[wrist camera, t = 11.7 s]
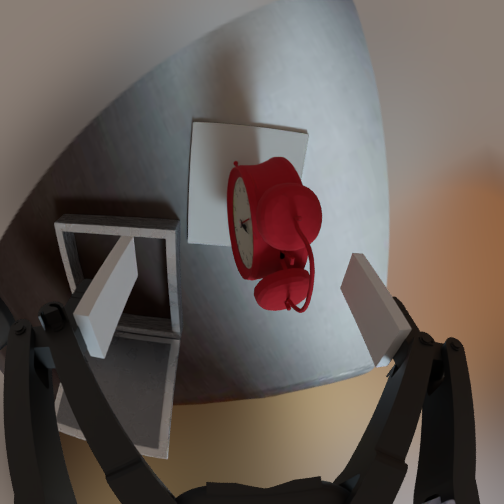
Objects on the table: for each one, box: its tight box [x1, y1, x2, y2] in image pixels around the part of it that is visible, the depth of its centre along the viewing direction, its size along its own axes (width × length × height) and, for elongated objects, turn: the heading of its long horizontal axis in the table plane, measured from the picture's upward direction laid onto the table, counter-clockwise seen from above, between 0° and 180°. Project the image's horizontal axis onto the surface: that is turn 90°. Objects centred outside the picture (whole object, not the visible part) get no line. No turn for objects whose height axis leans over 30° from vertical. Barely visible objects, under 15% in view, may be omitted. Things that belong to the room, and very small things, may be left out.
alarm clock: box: [227, 157, 322, 313], centre depth 21 cm, size 10×6×15 cm, turn 179°
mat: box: [188, 122, 309, 246], centre depth 27 cm, size 11×13×1 cm
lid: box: [55, 331, 180, 459], centre depth 27 cm, size 15×16×1 cm
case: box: [54, 214, 183, 340], centre depth 31 cm, size 15×16×3 cm
